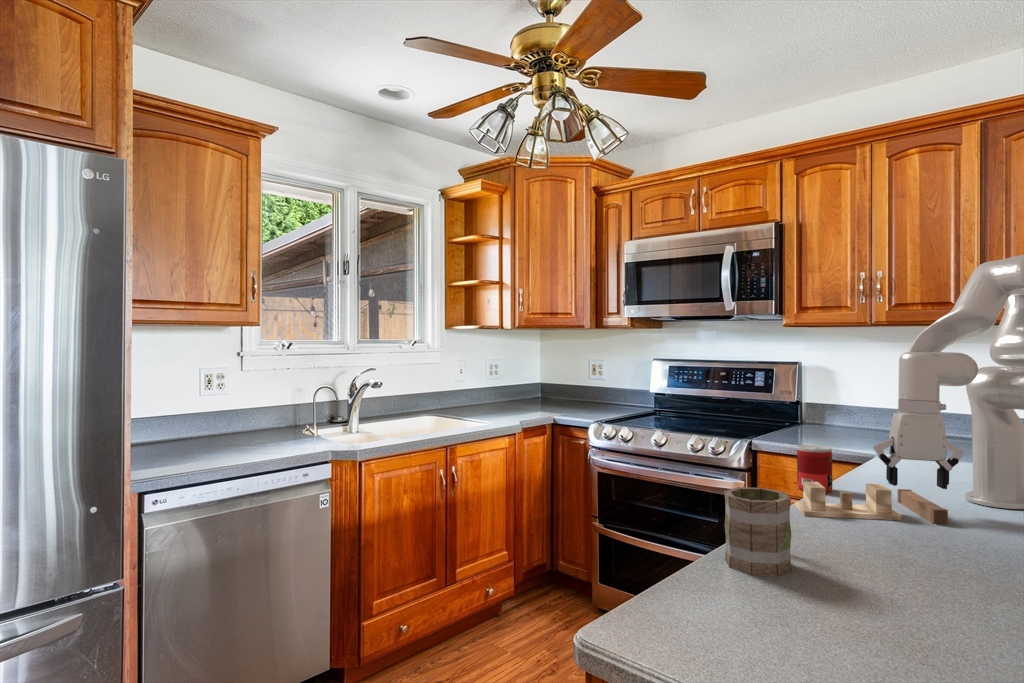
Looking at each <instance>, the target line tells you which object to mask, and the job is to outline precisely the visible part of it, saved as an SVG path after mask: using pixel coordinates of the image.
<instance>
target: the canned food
mask: <svg viewBox="0 0 1024 683" xmlns="http://www.w3.org/2000/svg"><path fill="white" fill-rule="evenodd" d="M796 471H797V472H796V474H797V475H796V477H797V488H798V490H800V491H801V492H803V482H818V483H819V484H821V485H822V486H823V487H824V488H825V495H827V494H830V493H832V490H833V449H832V448H831V447H829V446H826V445H819V444H817V445H814V444H802V445H797V446H796ZM826 493H827V494H826Z"/></svg>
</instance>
